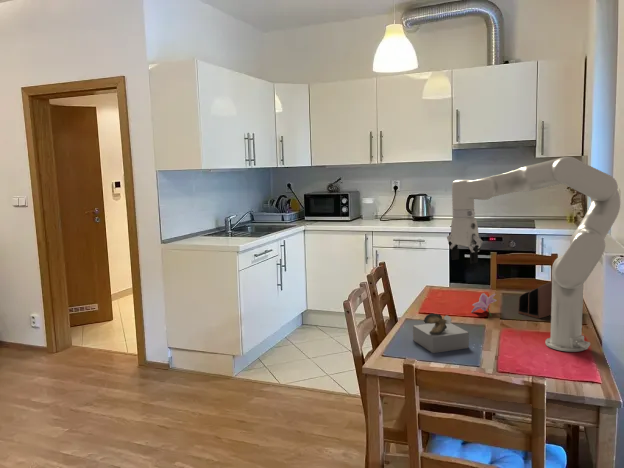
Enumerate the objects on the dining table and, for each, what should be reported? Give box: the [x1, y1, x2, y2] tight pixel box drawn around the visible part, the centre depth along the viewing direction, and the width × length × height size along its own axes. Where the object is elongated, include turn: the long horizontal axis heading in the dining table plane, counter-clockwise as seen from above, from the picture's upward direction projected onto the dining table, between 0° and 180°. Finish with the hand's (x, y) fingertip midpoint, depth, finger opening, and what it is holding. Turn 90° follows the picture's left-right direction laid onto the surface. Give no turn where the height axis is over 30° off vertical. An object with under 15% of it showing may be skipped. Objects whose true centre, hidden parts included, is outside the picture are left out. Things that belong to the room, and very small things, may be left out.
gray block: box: [412, 322, 470, 354], centre depth 183 cm, size 14×14×6 cm
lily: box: [471, 292, 498, 316], centre depth 217 cm, size 12×12×10 cm
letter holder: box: [517, 281, 552, 320], centre depth 217 cm, size 10×20×14 cm, turn 122°
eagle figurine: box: [423, 312, 452, 335], centre depth 180 cm, size 8×7×9 cm
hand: (464, 261), depth 187 cm, fingers open, 9 cm apart
